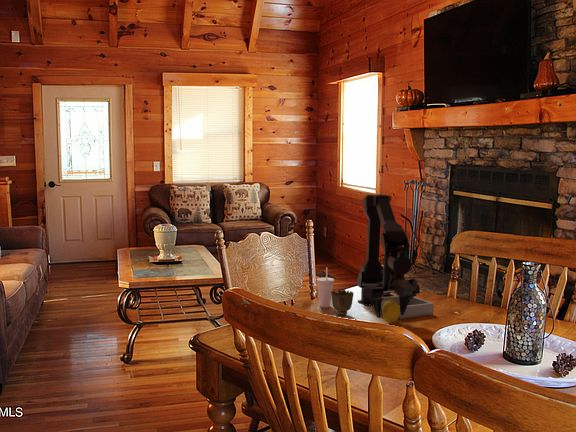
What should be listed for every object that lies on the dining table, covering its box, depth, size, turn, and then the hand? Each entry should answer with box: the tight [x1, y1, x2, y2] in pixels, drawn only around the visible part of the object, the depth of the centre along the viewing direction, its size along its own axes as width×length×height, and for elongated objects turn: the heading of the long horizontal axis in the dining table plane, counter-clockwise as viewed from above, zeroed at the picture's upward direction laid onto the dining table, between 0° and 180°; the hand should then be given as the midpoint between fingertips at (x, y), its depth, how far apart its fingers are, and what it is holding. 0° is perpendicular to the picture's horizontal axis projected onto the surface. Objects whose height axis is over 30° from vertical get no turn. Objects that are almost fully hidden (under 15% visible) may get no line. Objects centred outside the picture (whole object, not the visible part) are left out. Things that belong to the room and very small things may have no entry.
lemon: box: [381, 299, 400, 325], centre depth 197 cm, size 6×6×8 cm
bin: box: [381, 295, 435, 320], centre depth 212 cm, size 14×14×4 cm
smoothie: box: [316, 267, 335, 308], centre depth 218 cm, size 6×6×14 cm
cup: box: [331, 289, 355, 317], centre depth 206 cm, size 8×7×8 cm
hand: (390, 316), depth 197 cm, fingers open, 9 cm apart
